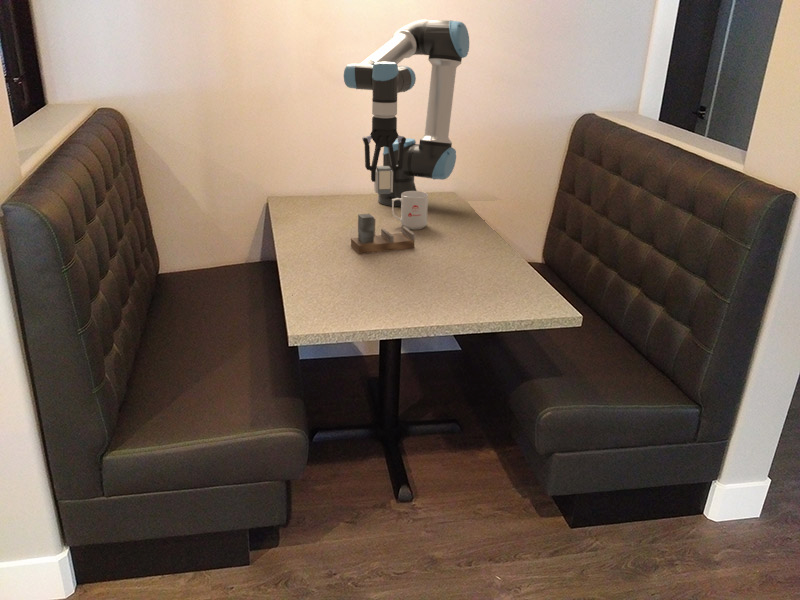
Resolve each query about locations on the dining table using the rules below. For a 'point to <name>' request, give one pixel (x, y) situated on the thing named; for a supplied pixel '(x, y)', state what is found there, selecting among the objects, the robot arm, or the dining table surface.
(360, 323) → the dining table surface
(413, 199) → the mug
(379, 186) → the grey block tan top
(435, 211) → the dining table surface
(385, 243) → the wooden block stand
